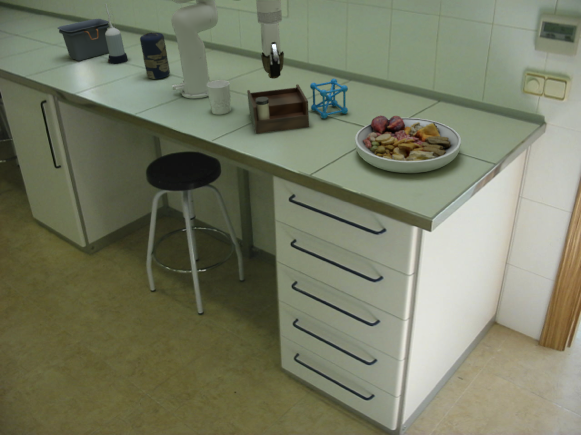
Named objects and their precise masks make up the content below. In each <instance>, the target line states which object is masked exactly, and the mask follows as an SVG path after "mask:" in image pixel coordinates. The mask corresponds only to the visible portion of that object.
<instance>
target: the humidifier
mask: <svg viewBox="0 0 581 435" xmlns="http://www.w3.org/2000/svg"><path fill="white" fill-rule="evenodd" d="M104 5H105V9H106V15H107V21H109V23H108V24H109V27H108V28H107V31H106V33H105V35H106V41H107V46H108V50H109V53H108V59H107V60H108V62H109V64H111V65H119V64H124V63H127V62H128V61H129V59H128V55H127V52H126V51H125V47H124V46H125V45H124V42H123V37H122V33H121V31H120V30H119V29H118V28H117V27H116V24H115V23H113V24H112V21H111V14H113V12H112V11H113V10H112V9H110V10H111V11H109V8H112V5H111V4H109V6H110V7H108V4H107V2H106V3H104ZM110 13H111V14H110ZM112 20H113V22H115V19H114V18H112ZM113 25H114V26H113ZM115 27H116V28H115Z"/></svg>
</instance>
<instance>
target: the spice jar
mask: <svg viewBox="0 0 581 435" xmlns="http://www.w3.org/2000/svg"><path fill="white" fill-rule="evenodd" d="M255 101H256V108H257V119H258V121H259V120H267V119H270V115H269V99H268V98H267V97H258V98H256V99H255Z"/></svg>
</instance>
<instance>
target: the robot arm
mask: <svg viewBox="0 0 581 435" xmlns="http://www.w3.org/2000/svg"><path fill="white" fill-rule="evenodd" d="M193 1H195V4H191V5H187V6H183V7H180V8H178V9H176V10H174V12H173V14H172V15H171V18H170V20H171V21H170V22H171V26H172V29H173V31H174V32H173V33H174V35H175V37H176V38H175V39H176V41H177V47H178V53H179V59H180V66H181V72H182V78H183V80H182V82H181V83H179V84H178V83H177V84H172V86H171V87H172V90H173V91H176V92H179V91H181V92H180V93H181V96H182V97H184V98H186V99H203V98H207V97H209V96H208V90H207V83H209V82H211V80H210V74H209V66H208V60H207V52H206V46H205V43H204V41H203V40H202V38H201V37H200V36H199V33H201V32H205V31H208V30H212V29H213V28H215V27H216V25H217V24H218V20H219V15H218V8H217V2H216V0H172V2H174V3H175V4H185V3H191V2H193ZM233 1H236V2H239V1H240V0H233ZM255 3H256V4H255V5H256V14H257V23H258V24H260V39H261V41H260V42H261V50H262V52H263V53H264V54H265V56H268V55H269V56H270V75H271V77H276V76H279V77H280V76H281V72H280V63H279V56H278V55H279V54H280V51H281V36H280V26H279V24H280V23H281V22H283V15H282V0H255ZM271 53H273V54H271ZM272 57H273V58H272Z"/></svg>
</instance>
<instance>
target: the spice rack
mask: <svg viewBox="0 0 581 435" xmlns="http://www.w3.org/2000/svg"><path fill="white" fill-rule="evenodd" d="M246 92H247V102H248V103H247V104H248V112H249V118H250V121H251V124H252V127H253V129H254V130H253V131H254V133H255V134H256V135H257V134H264V133H265V134H266V133H272V132H281V131H287V130H296V129H303V128H310V117H309V116H310V115H309V100H308V98H307V97H306V95H305V93H304V91H303V89H302V88H301V87H300V84H298V83H297V84H296V85H295V87H288V88H280V89H270V90H264V91H253V92H251V90H250V89H248V90H247V91H246ZM258 97H267V98H268V99H269V115H270V119H267V120H259V121H258V119H257V108H256V101H255V99H256V98H258Z"/></svg>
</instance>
